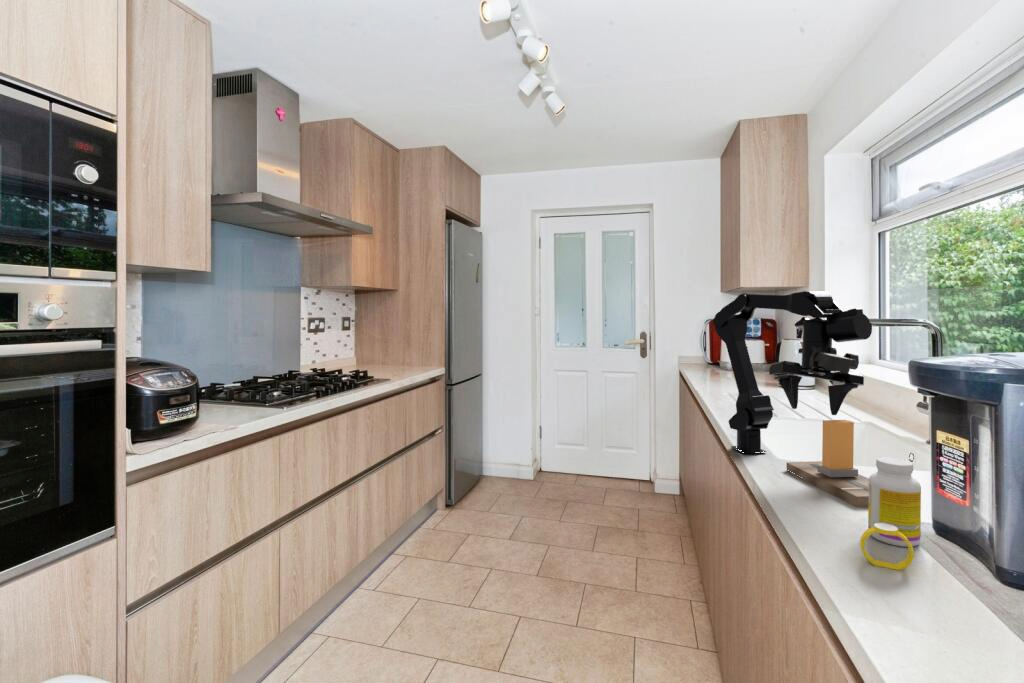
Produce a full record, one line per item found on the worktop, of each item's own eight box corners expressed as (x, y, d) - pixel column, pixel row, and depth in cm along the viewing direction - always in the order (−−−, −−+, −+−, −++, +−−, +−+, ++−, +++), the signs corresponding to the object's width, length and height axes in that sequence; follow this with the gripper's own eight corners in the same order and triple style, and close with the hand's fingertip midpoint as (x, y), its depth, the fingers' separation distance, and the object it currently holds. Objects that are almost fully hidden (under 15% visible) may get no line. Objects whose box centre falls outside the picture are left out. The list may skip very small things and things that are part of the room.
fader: (817, 471, 104) (818, 419, 104) (844, 470, 105) (844, 419, 104) (830, 477, 100) (830, 423, 100) (858, 476, 101) (858, 422, 100)
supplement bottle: (931, 548, 74) (933, 467, 73) (888, 549, 74) (889, 467, 74) (897, 529, 81) (899, 455, 80) (858, 530, 81) (859, 455, 80)
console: (786, 470, 112) (786, 461, 112) (827, 469, 113) (827, 460, 113) (856, 506, 90) (857, 496, 90) (907, 505, 91) (908, 494, 91)
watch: (863, 567, 69) (860, 527, 69) (860, 559, 72) (857, 520, 72) (916, 575, 66) (913, 532, 66) (911, 566, 69) (908, 525, 69)
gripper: (800, 331, 101) (797, 404, 99) (884, 345, 102) (883, 418, 99) (769, 340, 112) (766, 406, 110) (846, 352, 113) (844, 418, 110)
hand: (814, 411), depth 107 cm, fingers open, 9 cm apart
